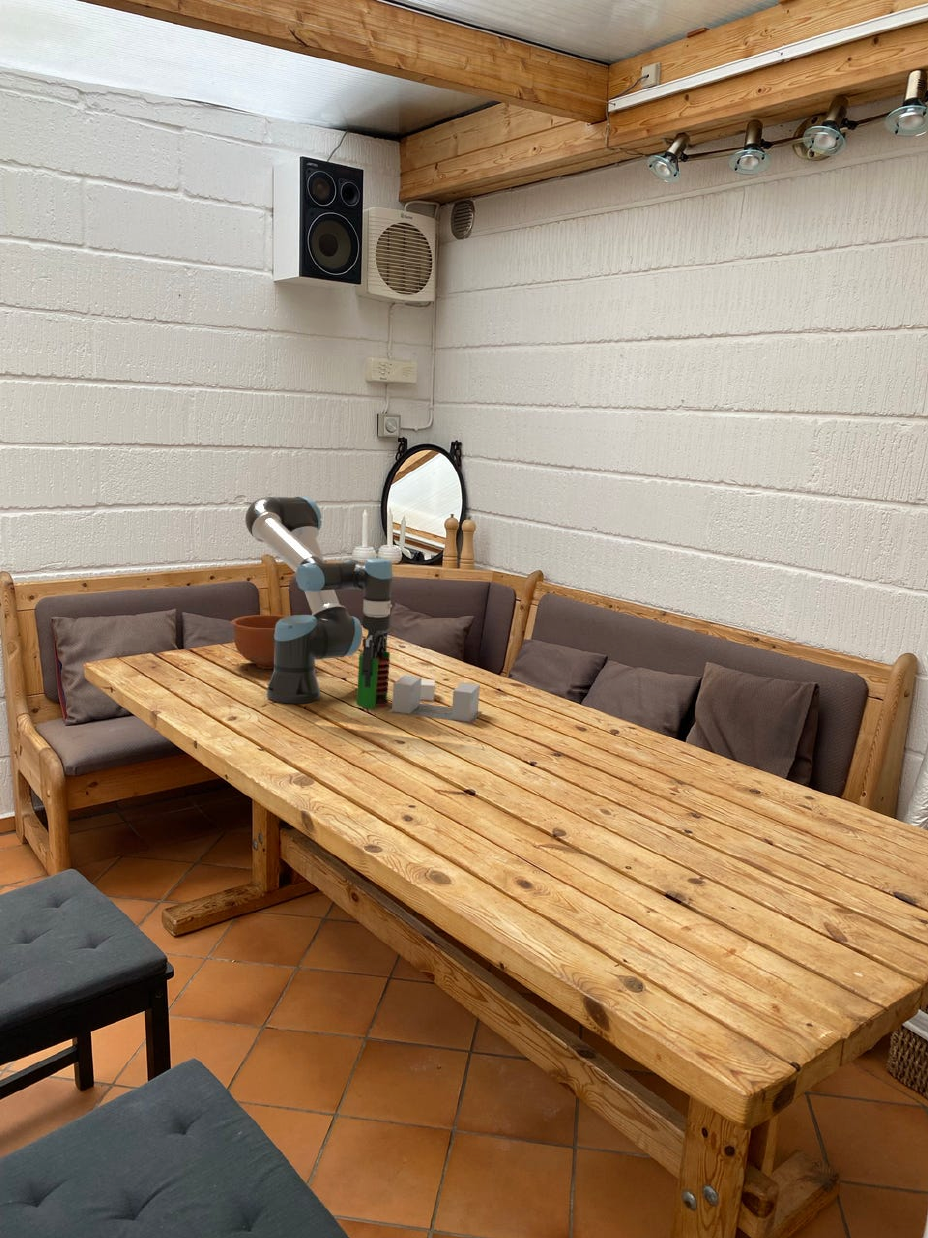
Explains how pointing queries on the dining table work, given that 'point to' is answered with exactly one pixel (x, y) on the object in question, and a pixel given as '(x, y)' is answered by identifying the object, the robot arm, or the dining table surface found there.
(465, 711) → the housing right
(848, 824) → the dining table surface
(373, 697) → the motor
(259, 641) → the bowl
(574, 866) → the dining table surface
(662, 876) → the dining table surface
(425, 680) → the loose relay
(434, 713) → the rail plate
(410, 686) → the block
